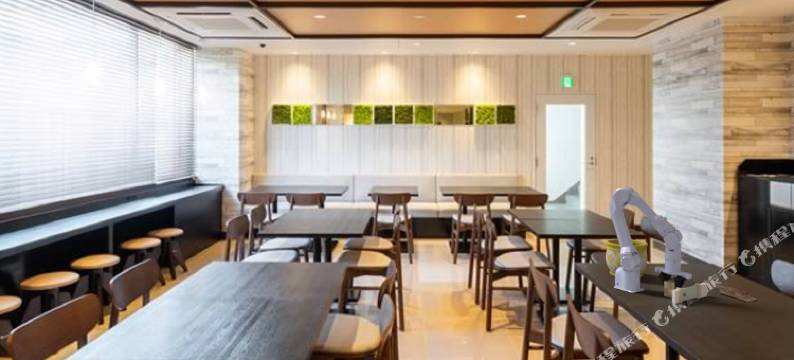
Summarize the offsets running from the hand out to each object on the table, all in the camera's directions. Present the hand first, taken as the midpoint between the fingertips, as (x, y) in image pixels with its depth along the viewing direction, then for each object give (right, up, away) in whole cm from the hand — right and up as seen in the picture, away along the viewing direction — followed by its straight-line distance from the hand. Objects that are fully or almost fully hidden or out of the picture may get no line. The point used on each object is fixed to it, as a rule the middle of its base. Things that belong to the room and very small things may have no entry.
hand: (672, 292), depth 207 cm
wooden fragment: (+27, -2, +4) cm, 28 cm away
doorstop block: (0, -2, 0) cm, 2 cm away
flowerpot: (-4, 0, +33) cm, 33 cm away
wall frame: (+4, -2, -5) cm, 6 cm away
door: (+4, -2, -5) cm, 7 cm away
